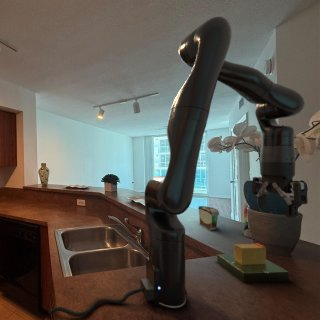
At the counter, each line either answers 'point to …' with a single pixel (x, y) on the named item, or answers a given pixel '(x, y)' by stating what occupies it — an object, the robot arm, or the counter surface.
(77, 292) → the counter surface
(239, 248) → the yellow rectangular block
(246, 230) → the lotion bottle
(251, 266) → the holder base
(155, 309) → the counter surface
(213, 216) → the food container
